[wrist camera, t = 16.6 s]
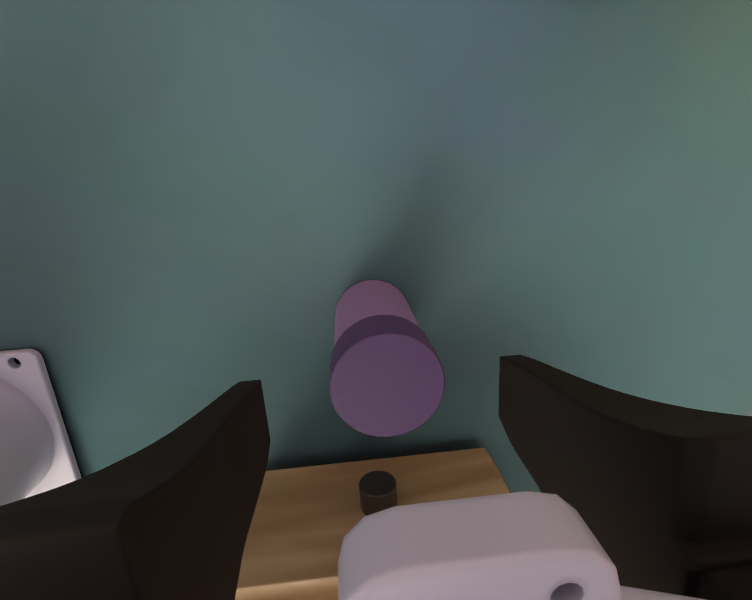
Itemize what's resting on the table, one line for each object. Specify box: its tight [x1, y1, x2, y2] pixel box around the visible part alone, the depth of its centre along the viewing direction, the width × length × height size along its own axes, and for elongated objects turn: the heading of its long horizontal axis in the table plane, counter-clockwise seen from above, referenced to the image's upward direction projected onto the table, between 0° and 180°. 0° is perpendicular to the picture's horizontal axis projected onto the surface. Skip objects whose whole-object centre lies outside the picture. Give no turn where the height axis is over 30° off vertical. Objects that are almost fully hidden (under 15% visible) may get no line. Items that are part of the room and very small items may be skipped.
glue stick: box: [330, 280, 445, 437], centre depth 17 cm, size 4×4×7 cm
